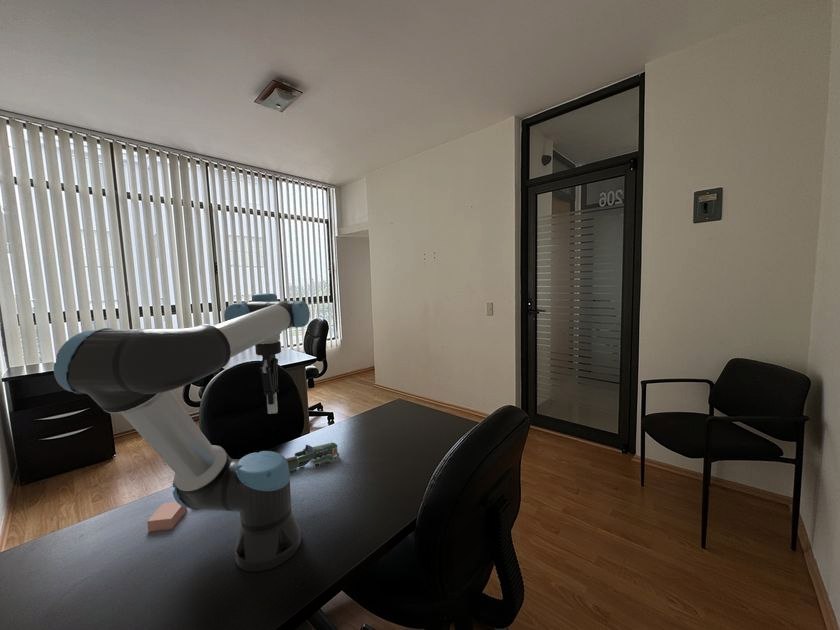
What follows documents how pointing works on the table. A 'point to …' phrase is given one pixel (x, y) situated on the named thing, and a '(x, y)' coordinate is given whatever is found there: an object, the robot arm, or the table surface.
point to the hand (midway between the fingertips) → (272, 412)
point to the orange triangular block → (166, 516)
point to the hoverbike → (313, 456)
